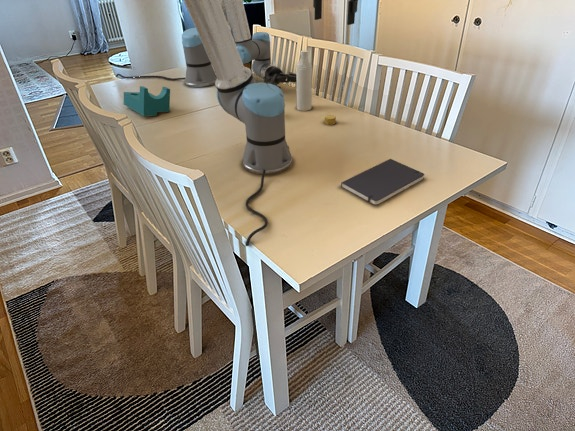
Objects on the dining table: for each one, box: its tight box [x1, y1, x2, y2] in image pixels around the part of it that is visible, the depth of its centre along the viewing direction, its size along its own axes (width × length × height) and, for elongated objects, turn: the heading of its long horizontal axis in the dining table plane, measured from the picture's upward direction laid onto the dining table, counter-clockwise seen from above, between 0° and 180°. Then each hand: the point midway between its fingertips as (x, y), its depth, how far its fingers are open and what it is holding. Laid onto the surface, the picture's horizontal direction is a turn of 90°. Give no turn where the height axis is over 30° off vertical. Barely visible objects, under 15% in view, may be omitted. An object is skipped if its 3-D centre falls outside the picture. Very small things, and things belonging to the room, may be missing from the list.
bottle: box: [295, 49, 313, 112], centre depth 157 cm, size 6×6×22 cm
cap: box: [324, 114, 337, 126], centre depth 150 cm, size 4×4×2 cm
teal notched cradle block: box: [123, 85, 171, 117], centre depth 163 cm, size 18×11×10 cm, turn 43°
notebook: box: [340, 158, 425, 206], centre depth 114 cm, size 13×2×21 cm
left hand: (294, 87), depth 165 cm, fingers open, 13 cm apart
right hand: (333, 21), depth 130 cm, fingers open, 13 cm apart
